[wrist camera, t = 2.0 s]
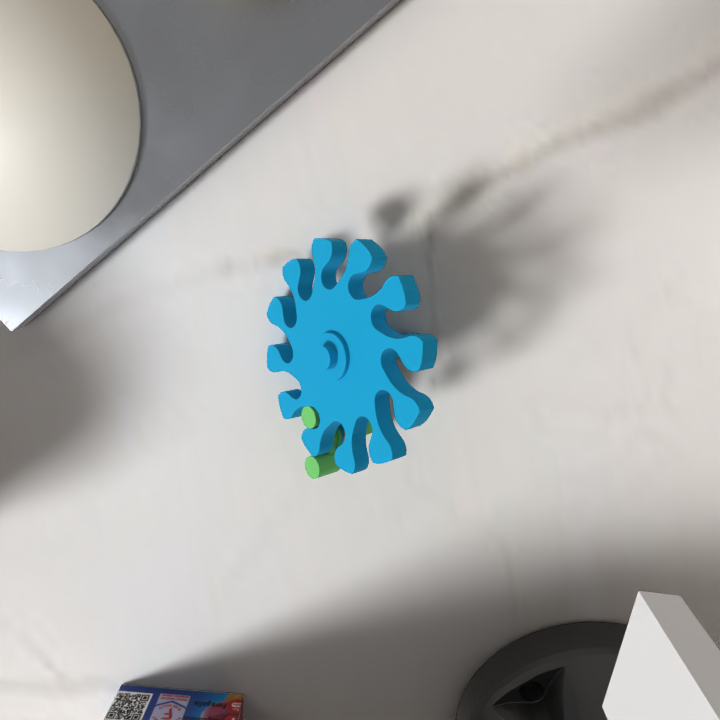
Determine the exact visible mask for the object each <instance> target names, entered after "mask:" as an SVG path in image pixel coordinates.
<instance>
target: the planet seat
mask: <svg viewBox="0 0 720 720" xmlns="http://www.w3.org/2000/svg"><path fill="white" fill-rule="evenodd" d="M140 139H141V109H140V100H139V95H138V89H137V84H136V80H135V77H134V74H133V70H132V67H131V64H130V61H129V59H128V57H127V54H126V52H125V50H124V47H123V45H122V43H121V41H120V39H119V37H118V36H117V34H116V32H115V30H114V29H113V27H112V25H111V23H110V22H109V21H108V19H107V18H106V16H105V15H104V14H103V12H102V11H101V9H100V8H99V7H98V5H97V4H96V3H95V2H94V1H93V0H0V250H4V251H17V252H27V251H39V250H44V249H49V248H53V247H57V246H61V245H64V244H66V243H69V242H71V241H74V240H76V239H78V238H80V237H81V236H83V235H85V234H87V233H88V232H90V231H91V230H92V229H94V228H95V227H96V226H97V225H99V224H100V223H101V222H102V221H103V220H104V219H105V218H106V217H107V216H108V215H109V214H110V213H111V212H112V211H113V210H114V208H115V207H116V205H117V204H118V202H119V201H120V199H121V198H122V196H123V195H124V193H125V191H126V189H127V187H128V185H129V183H130V181H131V178H132V175H133V172H134V169H135V166H136V163H137V158H138V153H139V148H140Z"/></svg>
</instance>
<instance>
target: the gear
mask: <svg viewBox="0 0 720 720" xmlns="http://www.w3.org/2000/svg"><path fill="white" fill-rule="evenodd" d="M346 253H347V245H346V242H344V241H343V240H340V239H327V238H315V239H314V240H313V244H312V254H313V258H314V263H313V261H312V260H311V259H293V260H291V261H289V262H288V263H287V264H286V265H285V266H284V267H283V277H284V279H285V281H286V283H287V284H288V285H289V287H290V289H291V291H292V294H293V297H294V300H295V301H294V300H293V298H292V297H290V296H281V297H274V298H273V300H272V301H271V303H270V306H269V308H268V312H267V316H268V319H269V321H270V322H271V323H272V324H274V325H276V326H278V327H279V328H280V329H281V330H282V331H283V332H284V333H285V335H286V336H287V338H288V340H289V342H290V344H291V346H292V348H291V347H290V345H288V344H286V343H283V344H276V345H270V346H269V347H268V353H267V367H268V369H269V370H270V371H272V372H279V371H286V372H289V373H290V374H291V375H293V376H294V377H295V378H296V379H297V380H298V381H299V383H300V385H301V390H299V389H295V390H290V391H285V392H281V393H280V394H279V395H278V398H279V405H280V408H281V412H282V415H283V418H285V419H290V418H294V417H299V416H302V421H303V423H304V425H305V426H306V427H307V429H305V430H304V431H303V433H302V440H303V443H304V445H305V446H306V448H307V449H308V451H309V452H310V453H311V455H312V456H309V457H307V459H306V461H305V468H306V471H307V474H308V475H309V476H310V477H311V478H313V479H316V478H318V477H321V476H324V475H327V474H330V473H333V472H336V471H338V470H339V469H340V468H341V469H342V470H344V471H346V472H348V473H351V474H353V473H356V472H359V471H362V470H365V469H366V468H367V467H368V464H369V456H368V452H367V448H366V434H370V433H372V437H371V440H370V443H369V454H370V457H371V459H372V461H373V463H377V464H380V463H385V462H388V461H391V460H394V459H397V458H400V457H402V456H405V455H406V446H405V443H404V441H403V439H402V437H401V436H400V435H399V433H398V432H397V430H396V428H395V426H394V423H393V421H392V417H391V413H390V406H389V394H390V395H391V397H392V400H393V405H394V414H395V418H396V421H397V423H398V424H399V425H400V427H402V428H403V429H405V430H407V429H410V428H414V427H417V426H420V425H421V424H423V423H424V422H425V421H426V420H427V419H428V417H429V416H430V414H431V412H432V411H433V409H434V406H433V403H432V402H431V400H430V399H429V397H428V396H426V395H425V394H423V393H420V392H418V391H417V390H415V389H414V388H413V387H411V386H410V385H409V384H408V382H407V381H406V380H405V379H404V377H403V375H402V374H401V372H400V370H399V368H398V366H397V364H396V361H395V358H397V357H400V359H401V361H402V363H403V364H404V366H405V367H406V368H407V369H409V370H411V371H420V370H425V369H430V368H433V366H434V364H435V360H436V355H437V339H436V338H435V337H434V336H433V335H431V334H418V333H411V334H403V335H402V334H400V333H398V332H397V331H395V330H393V329H392V328H391V327H389V325H388V324H387V322H386V318H385V312H386V309H387V308H388V309H390V310H392V311H405V310H413V309H415V308H417V307H418V306H419V305H420V295H419V290H418V287H417V284H416V282H415V280H414V277H413V276H411V275H401V276H391V277H390V278H388V279H387V280H386V282H385V283H384V285H383V287H382V288H381V289H380V290H379V291H378V292H377V293H376V294H375V295H373V296H371V297H370V298H368V297H367V296H366V295H365V293H364V291H363V280H364V278H365V276H366V275H368V274H370V273H374V272H378V271H380V270H381V269H382V268H383V267H384V265H385V263H386V259H387V257H386V255H385V253H384V251H383V250H382V249H381V247H380V246H379V245H378V244H376V243H375V242H374V241H373V240H367V239H356V240H355V241H354V242H353V243H352V244H351V247H350V250H349V257H348V263H347V267H346V270H345V272H344V274H343V276H342V278H341V279H340V281H339V282H338V283H337V282H336V271H337V269H338V267H339V266H340V265H341V263H342V262H343V261H344V259H345V257H346ZM314 264H315V267H314ZM314 275H315V281H314V287H313V291H312V284H313V280H314ZM292 349H293V350H292Z"/></svg>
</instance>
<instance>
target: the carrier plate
mask: <svg viewBox="0 0 720 720" xmlns="http://www.w3.org/2000/svg"><path fill="white" fill-rule="evenodd" d="M93 1H94V2H95V3H96V4H97V5H98V7H99V8H100V9H101V11H102V12H103V14H104V15H105V16H106V18H107V19H108V21H109V22H110V23H111V25H112V27H113V29H114V30H115V32H116V34H117V36H118V37H119V39H120V41H121V43H122V45H123V47H124V50H125V52H126V54H127V57H128V59H129V61H130V64H131V67H132V70H133V74H134V77H135V80H136V84H137V89H138V95H139V100H140V109H141V139H140V148H139V153H138V158H137V163H136V166H135V169H134V172H133V175H132V178H131V181H130V183H129V185H128V187H127V189H126V191H125V193H124V195H123V196H122V198H121V199H120V201H119V202H118V204H117V205H116V207H115V208H114V210H113V211H112V212H111V213H110V214H109V215H108V216H107V217H106V218H105V219H104V220H103V221H102V222H101V223H100V224H99V225H97V226H96V227H95V228H94V229H92V230H91V231H90V232H88V233H87V234H85V235H83V236H81V237H80V238H78V239H76V240H74V241H71V242H69V243H66V244H64V245H61V246H57V247H53V248H49V249H44V250H39V251H27V252H17V251H4V250H0V320H1V321H2V322H3V323H4V324H5V325H6V327H7V328H8V329H9V330H10V331H11V332H12V331H14V330H16V329H19V328H21V327H23V326H26V325H27V324H28V323H29V322H31V321H32V320H33V319H34V318H35V317H36V316H38V315H39V314H40V313H41V312H42V311H43V310H44V309H46V308H47V307H48V306H49V305H50V304H51V303H53V302H54V301H55V300H56V299H57V298H58V297H59V296H61V295H62V294H63V293H64V292H65V291H66V290H68V289H69V288H70V287H71V286H72V285H73V284H74V283H76V282H77V281H78V280H79V279H80V278H81V277H83V276H84V275H85V274H86V273H87V272H88V271H89V270H91V269H92V268H93V267H94V266H95V265H96V264H98V263H99V262H100V261H101V260H102V259H103V258H104V257H106V256H107V255H108V254H109V253H110V252H111V251H113V250H114V249H115V248H116V247H117V246H118V245H119V244H121V243H122V242H123V241H124V240H125V239H126V238H128V237H129V236H130V235H131V234H132V233H133V232H134V231H136V230H137V229H138V228H139V227H140V226H141V225H143V224H144V223H145V222H146V221H147V220H148V219H149V218H151V217H152V216H153V215H154V214H155V213H156V212H158V211H159V210H160V209H161V208H162V207H163V206H164V205H166V204H167V203H168V202H169V201H170V200H171V199H173V198H174V197H175V196H176V195H177V194H178V193H179V192H181V191H182V190H183V189H184V188H185V187H186V186H188V185H189V184H190V183H191V182H192V181H193V180H194V179H196V178H197V177H198V176H199V175H200V174H201V173H203V172H204V171H205V170H206V169H207V168H208V167H209V166H211V165H212V164H213V163H214V162H215V161H216V160H218V159H219V158H220V157H221V156H222V155H223V154H224V153H226V152H227V151H228V150H229V149H230V148H231V147H233V146H234V145H235V144H236V143H237V142H238V141H239V140H241V139H242V138H243V137H244V136H245V135H246V134H248V133H249V132H250V131H251V130H252V129H253V128H254V127H256V126H257V125H258V124H259V123H260V122H261V121H263V120H264V119H265V118H266V117H267V116H268V115H269V114H271V113H272V112H273V111H274V110H275V109H276V108H278V107H279V106H280V105H281V104H282V103H283V102H284V101H286V100H287V99H288V98H289V97H290V96H291V95H293V94H294V93H295V92H296V91H297V90H298V89H299V88H301V87H302V86H303V85H304V84H305V83H306V82H308V81H309V80H310V79H311V78H312V77H313V76H314V75H316V74H317V73H318V72H319V71H320V70H321V69H323V68H324V67H325V66H326V65H327V64H328V63H329V62H331V61H332V60H333V59H334V58H335V57H336V56H338V55H339V54H340V53H341V52H342V51H343V50H344V49H346V48H347V47H348V46H349V45H350V44H351V43H353V42H354V41H355V40H356V39H357V38H358V37H359V36H361V35H362V34H363V33H364V32H365V31H366V30H368V29H369V28H370V27H371V26H372V25H373V24H374V23H376V22H377V21H378V20H379V19H380V18H381V17H383V16H384V15H385V14H386V13H387V12H388V11H389V10H391V9H392V8H393V7H394V6H395V5H396V4H398V3H399V2H400V1H401V0H93Z"/></svg>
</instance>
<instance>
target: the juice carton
mask: <svg viewBox="0 0 720 720" xmlns="http://www.w3.org/2000/svg"><path fill="white" fill-rule="evenodd" d="M243 700H244V695H243V694H234V693H222V692H210V691H198V690H186V689H174V688H162V687H150V686H138V685H126V684H122V685H121V687H120V689H119V691H118V693H117V695H116V697H115V699H114V701H113V703H112V705H111V707H110V709H109V710H108V712H107V714H106V716H105V718H104V720H243Z"/></svg>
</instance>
